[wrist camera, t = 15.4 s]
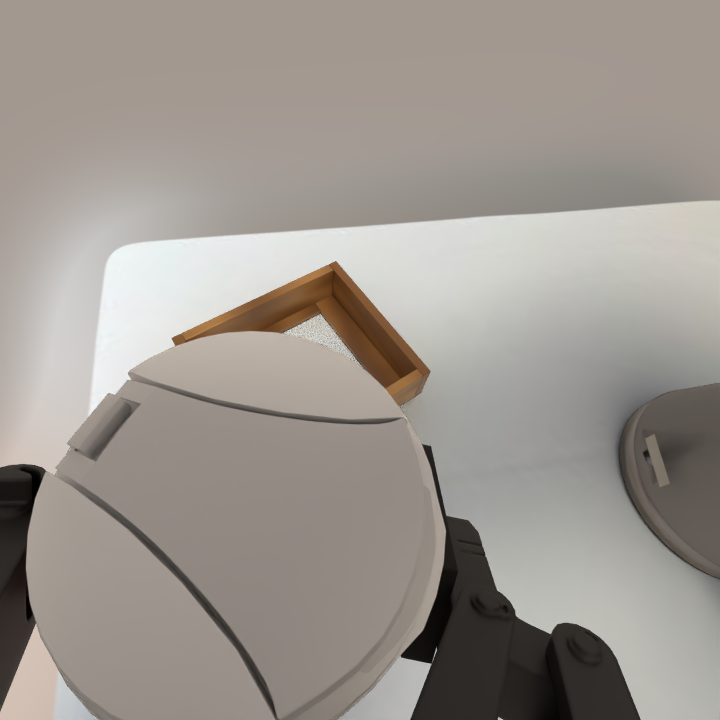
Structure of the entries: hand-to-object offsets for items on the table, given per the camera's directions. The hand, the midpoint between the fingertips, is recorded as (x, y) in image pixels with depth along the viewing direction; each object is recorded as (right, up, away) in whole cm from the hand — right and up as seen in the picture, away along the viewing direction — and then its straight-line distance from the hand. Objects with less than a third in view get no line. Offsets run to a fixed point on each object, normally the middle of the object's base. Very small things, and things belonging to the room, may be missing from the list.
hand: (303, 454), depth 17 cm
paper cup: (-1, -6, +3) cm, 7 cm away
